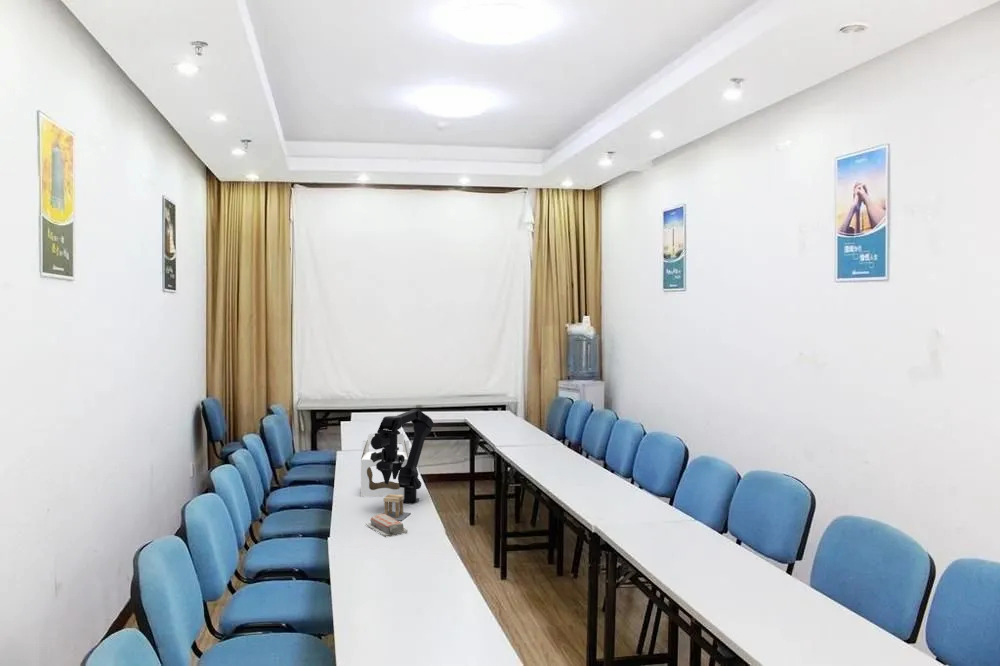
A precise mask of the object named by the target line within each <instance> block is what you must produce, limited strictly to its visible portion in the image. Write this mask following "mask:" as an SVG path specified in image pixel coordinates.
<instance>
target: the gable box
mask: <svg viewBox="0 0 1000 666" xmlns="http://www.w3.org/2000/svg"><path fill="white" fill-rule="evenodd" d="M374 436H375V433H370V434H368V437H367V440H363V441H362V446H361V447H362V448H361V449H362V450H361V453H362V455H361V458H360V459H361V460H360V497H361V496H387V495H389V494H396V495H404V488H402V487H401V488H400V486H399V482H395V481H391V480H389V483H388V484H385V481H380V482H373V470H372V468H371V467H376V464H377V463H378V462H380V461H381V460H378V461H376V462H373V461H372V460H371V459H370V458H371V453H374V452H376V453H378V452H379V451H370V449H369V447H370V446H371V440H372V438H373V437H374ZM398 444H399V445H402V451H397V455H403V456H404V462H403V464H402V466H401V467H404V466H405V465H406V463H407V460H408V456H409V453H410V450H411V448H410V440H406V439H405V438H404V434H403V433H400V434H398V435H397V445H398ZM400 462H401V461H400Z"/></svg>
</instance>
